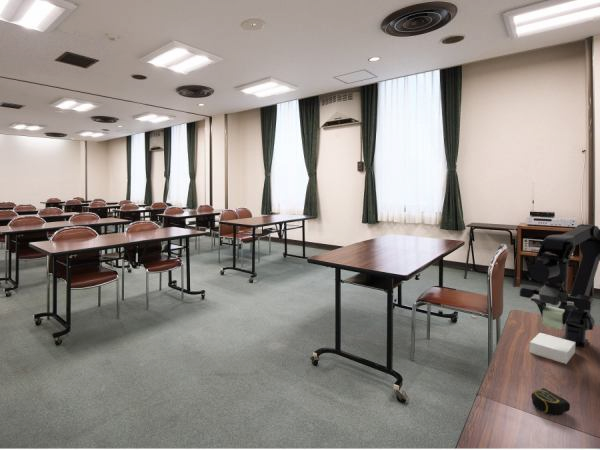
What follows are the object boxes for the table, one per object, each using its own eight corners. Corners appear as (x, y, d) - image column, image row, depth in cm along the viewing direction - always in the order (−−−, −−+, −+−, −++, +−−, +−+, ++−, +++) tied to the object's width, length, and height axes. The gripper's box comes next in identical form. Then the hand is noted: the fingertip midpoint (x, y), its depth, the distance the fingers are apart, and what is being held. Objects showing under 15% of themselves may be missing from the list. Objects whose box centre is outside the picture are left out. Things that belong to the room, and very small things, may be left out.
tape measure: (571, 414, 85) (572, 400, 85) (551, 421, 83) (551, 407, 83) (544, 398, 92) (545, 385, 91) (524, 404, 90) (525, 391, 89)
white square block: (539, 343, 121) (539, 332, 121) (574, 353, 114) (575, 342, 113) (529, 353, 115) (529, 342, 114) (566, 365, 107) (567, 352, 107)
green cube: (546, 320, 116) (547, 306, 115) (565, 324, 112) (566, 309, 112) (542, 324, 113) (542, 310, 112) (560, 329, 109) (561, 314, 108)
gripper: (514, 275, 112) (512, 321, 115) (587, 288, 98) (584, 339, 100) (526, 268, 119) (524, 311, 122) (596, 278, 105) (592, 327, 107)
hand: (553, 321), depth 113 cm, fingers closed on green cube, 5 cm apart
